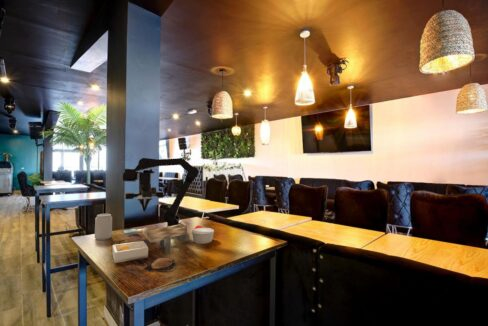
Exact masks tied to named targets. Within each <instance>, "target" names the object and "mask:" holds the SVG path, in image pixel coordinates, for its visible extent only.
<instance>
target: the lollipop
mask: <svg viewBox="0 0 488 326" xmlns="http://www.w3.org/2000/svg"><path fill="white" fill-rule="evenodd" d="M204 214H205V211H203V213H202V216H201V218H200V219H201V220H200V224H197V225H196V226H195V227H194V228H192V230H194V229H197V228H206V227H205V226H201V225H202V221H203V220H204V219H209V218H210V217H209V216H205V215H204ZM204 216H205V217H204Z"/></svg>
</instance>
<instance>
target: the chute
mask: <svg viewBox="0 0 488 326" xmlns="http://www.w3.org/2000/svg"><path fill="white" fill-rule="evenodd" d="M179 223H180V224H179V225H174V226H169V227H167V226H166V227H161V228H157V229H152V230H151V229H149V228H148V227H143V228H137V229H136V228H130V229H125V230H123V234H124V236H127V237H128V236H131V235H136V234H140V233H142V234H143V235H144V237H145V238H146V240H148V241H149V243H156V242H159V241H160V240H164V239H165V237H168V236H170V237H171V239H172V238H175V239H176V241H178V242H179V243H180V244H181V243H186V242H189V241H190V240H191V238H190V234H188V225H187V223H184V222H182V221H179Z"/></svg>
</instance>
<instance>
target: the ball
mask: <svg viewBox="0 0 488 326" xmlns="http://www.w3.org/2000/svg"><path fill="white" fill-rule="evenodd" d="M124 250H130V248H129V246H127V245H122V246H121V247H120V248H119V251H124Z"/></svg>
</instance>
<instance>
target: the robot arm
mask: <svg viewBox="0 0 488 326" xmlns="http://www.w3.org/2000/svg"><path fill="white" fill-rule="evenodd" d="M137 163H138V164H137V165H136V167H135V168H124V171H123V172H122V180H123V182H124V183H125V182H128V183H131V182H137V180H138V193H135V192H125V193H124V195H123V197H124V199H125V200H133V199H136V200H137V201H139V202H138V203H140V206H141V209H142V212H146V210H147V208H148V204H149V203H150V201H151V200H153V199H154V198H153V197H157V198H164V197H165V193H164V192H163V191H159V190H158V191H157V187H156V186H155V187H154V186H153V187H152V184H151V183H152V174H155V173H156V172H155V170H153V168H157V167H165V166H166V167H167V166H181V167H182V168H183V170H185V171H186V175H185V178H184V182H183V184H182V185H181V187H180V189H179V191H178V193H177V195H176V196H175V199H174V200H173V202H172V204H171V205H170V204H168V205H167V206H166V209H165V211H164V212H163V214H164V215H163V219H164V221H165V222H166V227H169V226H174V225H179V224H180V220H181V217H180V216H178V215H177V214H178V211H179V207H180V205H181V203H182V201H183V199H184V197H185V196H186V193H187V192H188V190H189V188H190V186H191V184H192V183H193V182H194V181H195V179H196V178H197V177H198V175H199V169H198V167H197V166H193V165H191V164H190V163H189V162H188V161H187V160H186V159H185V158H184V157H179V158H161V159H159V158H158V159H156V158H149V157H142V158H140V159H139V160H138V162H137Z"/></svg>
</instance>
